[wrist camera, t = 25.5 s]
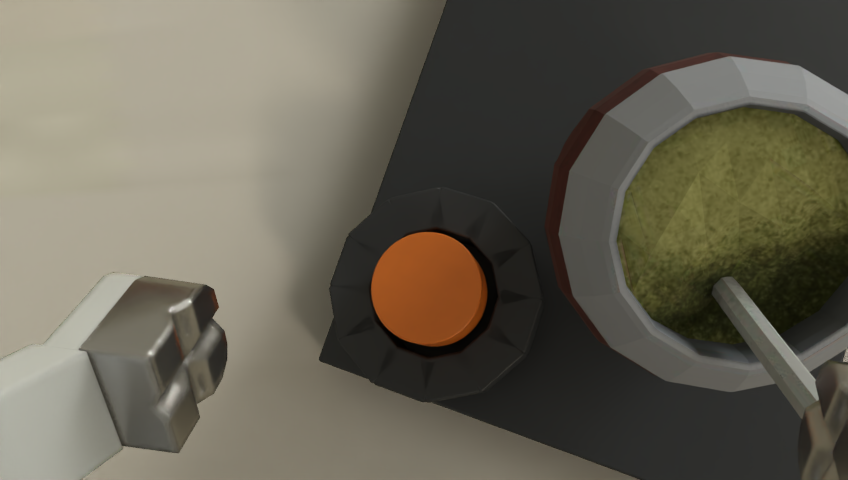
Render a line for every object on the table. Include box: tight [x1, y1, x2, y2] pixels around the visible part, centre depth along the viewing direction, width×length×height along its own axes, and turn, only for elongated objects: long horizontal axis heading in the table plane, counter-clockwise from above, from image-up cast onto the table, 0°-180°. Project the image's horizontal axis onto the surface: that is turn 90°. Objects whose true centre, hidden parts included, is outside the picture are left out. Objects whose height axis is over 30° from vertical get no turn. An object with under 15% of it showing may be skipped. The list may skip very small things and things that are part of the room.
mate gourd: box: [544, 52, 848, 419], centre depth 15 cm, size 8×8×15 cm
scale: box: [319, 0, 848, 480], centre depth 23 cm, size 16×14×3 cm
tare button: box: [371, 232, 488, 347], centre depth 22 cm, size 3×3×2 cm
